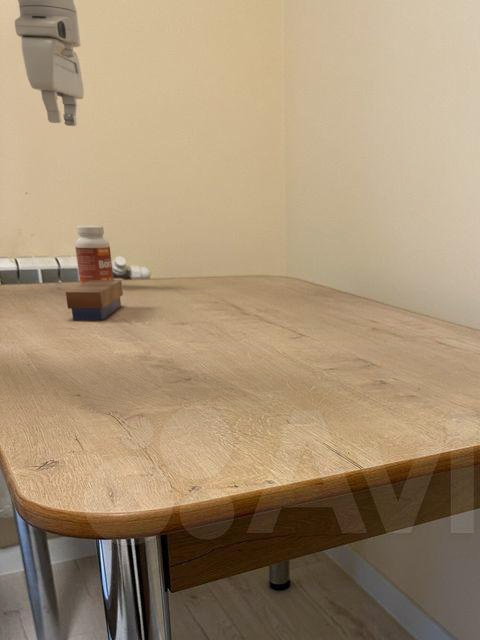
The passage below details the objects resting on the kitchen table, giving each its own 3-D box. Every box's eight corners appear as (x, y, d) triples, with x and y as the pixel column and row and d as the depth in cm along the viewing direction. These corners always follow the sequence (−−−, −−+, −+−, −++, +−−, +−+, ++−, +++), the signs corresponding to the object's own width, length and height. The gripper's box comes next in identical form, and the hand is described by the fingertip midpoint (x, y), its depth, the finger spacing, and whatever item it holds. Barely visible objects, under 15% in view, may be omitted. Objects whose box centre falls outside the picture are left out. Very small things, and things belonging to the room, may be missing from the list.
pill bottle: (106, 289, 133) (98, 227, 129) (74, 288, 134) (66, 226, 129) (119, 285, 139) (112, 225, 135) (89, 284, 140) (81, 224, 135)
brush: (103, 321, 105) (100, 292, 104) (69, 320, 105) (65, 292, 103) (124, 306, 117) (121, 280, 116) (93, 306, 117) (89, 279, 115)
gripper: (50, 41, 127) (61, 126, 133) (10, 19, 109) (25, 120, 114) (86, 42, 128) (96, 127, 133) (52, 21, 109) (65, 121, 115)
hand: (63, 124), depth 124 cm, fingers open, 8 cm apart
